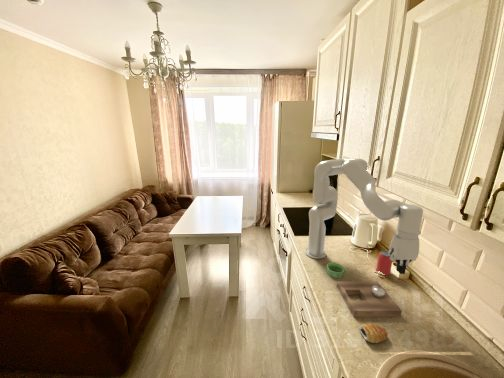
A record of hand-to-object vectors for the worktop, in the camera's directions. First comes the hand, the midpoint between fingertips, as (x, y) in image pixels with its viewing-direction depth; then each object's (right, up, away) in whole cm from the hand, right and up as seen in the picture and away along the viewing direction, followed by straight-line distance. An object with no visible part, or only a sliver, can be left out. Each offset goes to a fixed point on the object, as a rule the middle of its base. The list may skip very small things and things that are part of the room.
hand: (400, 272), depth 94 cm
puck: (-8, -12, +3) cm, 15 cm away
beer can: (+7, -10, +24) cm, 26 cm away
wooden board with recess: (-13, -15, +4) cm, 20 cm away
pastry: (-18, -21, -15) cm, 31 cm away
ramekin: (-20, -10, +22) cm, 32 cm away
